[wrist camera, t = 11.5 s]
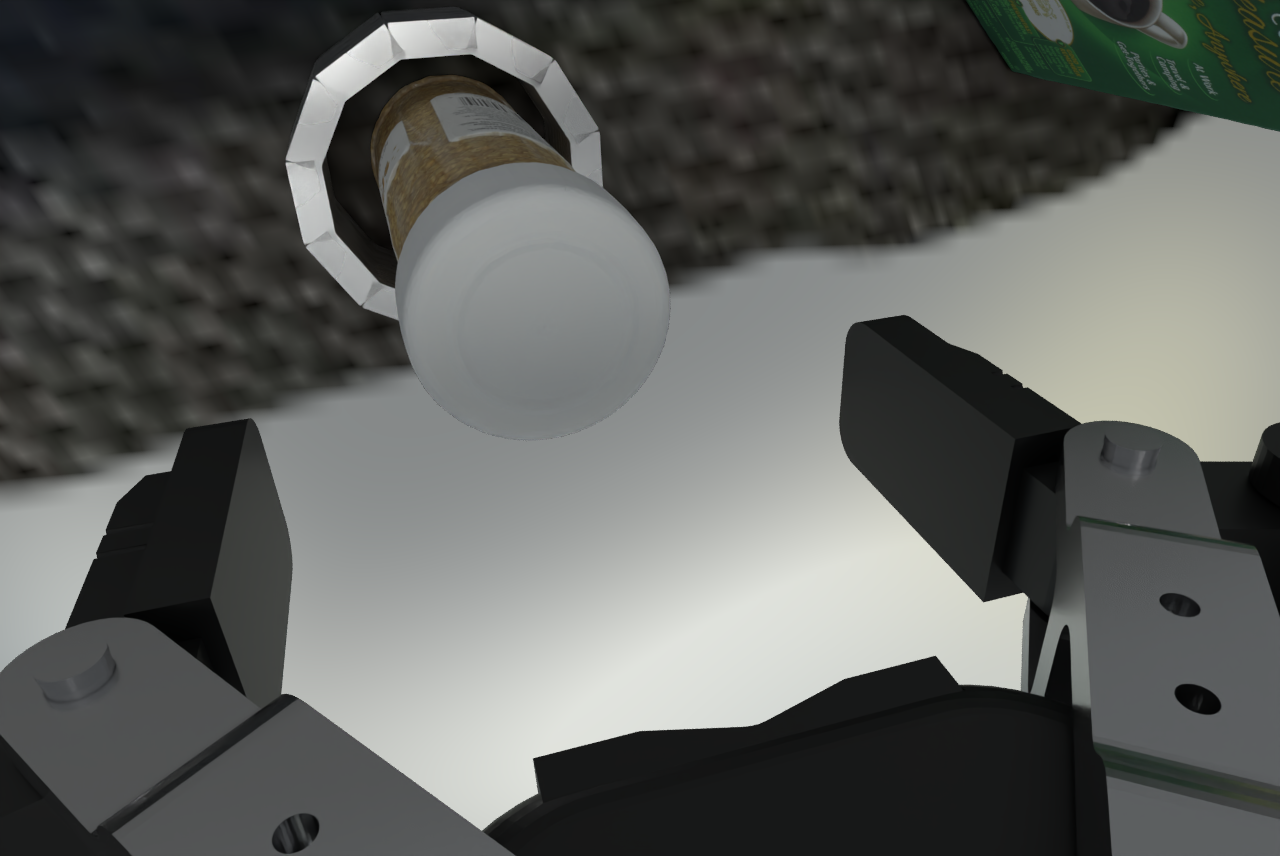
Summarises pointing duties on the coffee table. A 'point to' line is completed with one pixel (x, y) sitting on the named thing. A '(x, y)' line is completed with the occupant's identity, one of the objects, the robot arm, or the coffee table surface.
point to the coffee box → (1149, 50)
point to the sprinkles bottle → (512, 267)
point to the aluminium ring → (361, 62)
